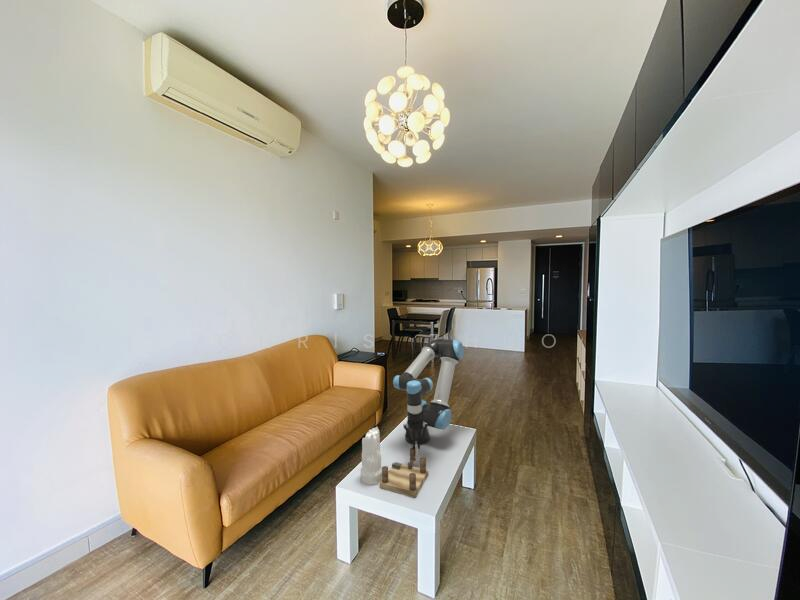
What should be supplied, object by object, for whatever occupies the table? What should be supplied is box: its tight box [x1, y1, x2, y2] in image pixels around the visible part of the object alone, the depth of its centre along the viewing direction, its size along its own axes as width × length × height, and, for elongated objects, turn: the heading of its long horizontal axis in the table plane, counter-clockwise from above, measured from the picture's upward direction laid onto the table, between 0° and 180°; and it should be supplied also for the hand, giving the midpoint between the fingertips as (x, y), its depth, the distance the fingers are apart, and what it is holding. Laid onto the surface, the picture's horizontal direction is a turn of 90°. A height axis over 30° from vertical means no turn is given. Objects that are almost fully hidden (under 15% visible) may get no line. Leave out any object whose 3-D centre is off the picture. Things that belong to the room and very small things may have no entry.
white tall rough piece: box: [360, 426, 383, 486], centre depth 155 cm, size 11×11×25 cm
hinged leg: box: [407, 446, 417, 469], centre depth 163 cm, size 10×3×6 cm, turn 166°
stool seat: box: [379, 456, 429, 498], centre depth 153 cm, size 18×18×9 cm
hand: (416, 454), depth 166 cm, fingers closed
